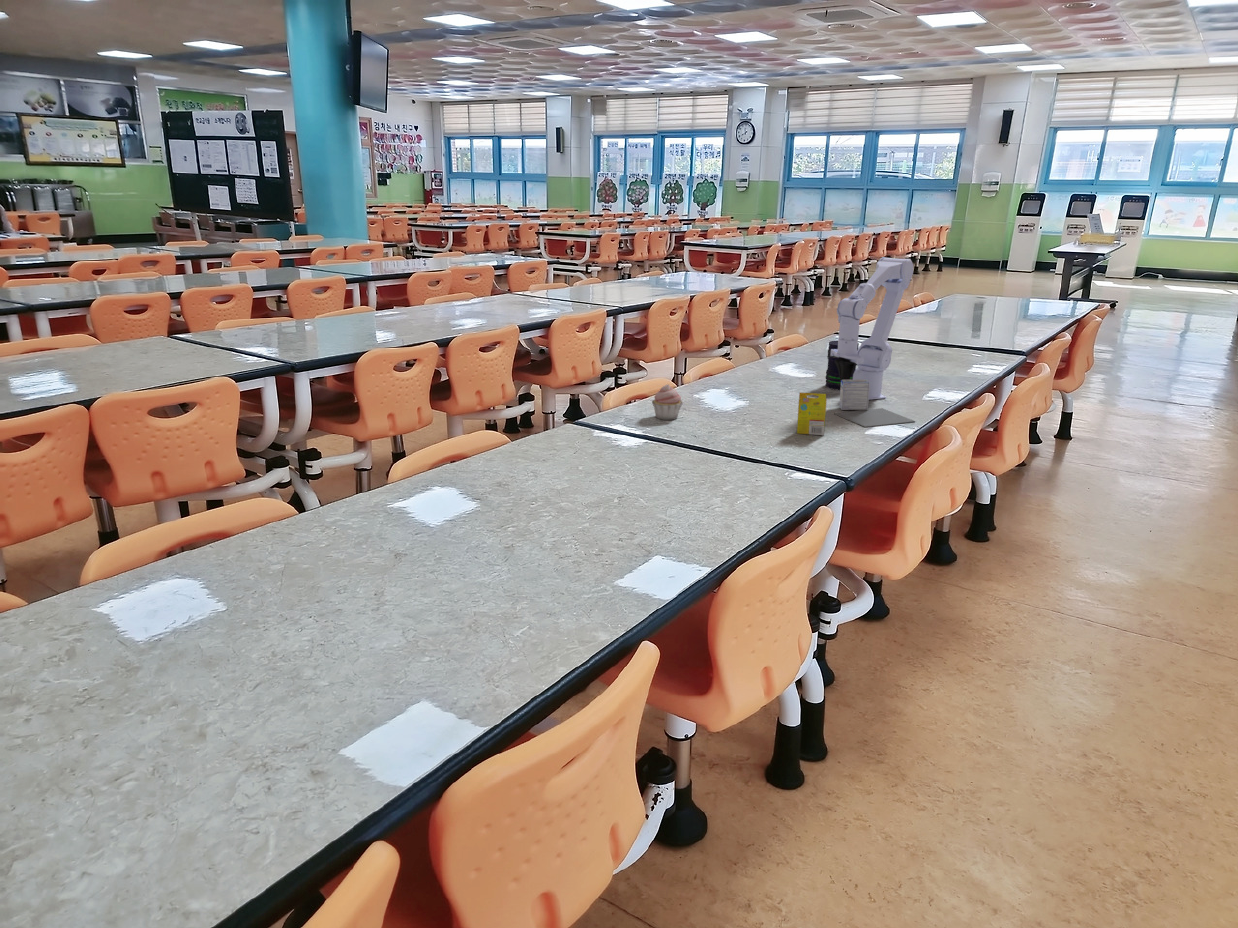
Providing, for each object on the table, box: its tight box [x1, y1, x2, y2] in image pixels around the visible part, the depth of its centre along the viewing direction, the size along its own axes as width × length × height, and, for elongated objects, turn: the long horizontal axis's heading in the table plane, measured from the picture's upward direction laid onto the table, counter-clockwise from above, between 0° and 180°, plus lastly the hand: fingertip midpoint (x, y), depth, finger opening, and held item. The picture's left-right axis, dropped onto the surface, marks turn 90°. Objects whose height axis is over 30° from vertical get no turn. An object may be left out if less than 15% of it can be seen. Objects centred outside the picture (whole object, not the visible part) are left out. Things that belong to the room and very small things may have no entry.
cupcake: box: [651, 383, 684, 421], centre depth 242 cm, size 9×9×10 cm
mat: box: [833, 407, 916, 428], centre depth 243 cm, size 16×17×1 cm
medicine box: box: [839, 380, 870, 411], centre depth 251 cm, size 8×4×9 cm, turn 84°
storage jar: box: [824, 339, 860, 391], centre depth 278 cm, size 10×10×15 cm
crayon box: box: [796, 392, 827, 436], centre depth 226 cm, size 7×3×12 cm, turn 74°
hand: (844, 383), depth 255 cm, fingers closed
